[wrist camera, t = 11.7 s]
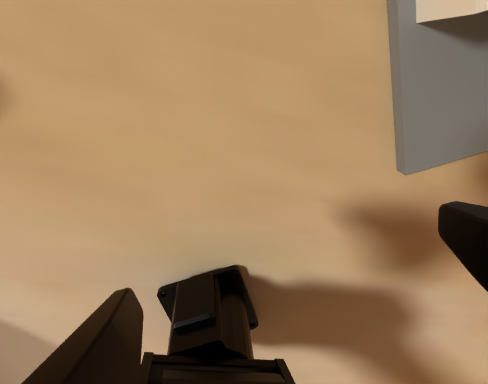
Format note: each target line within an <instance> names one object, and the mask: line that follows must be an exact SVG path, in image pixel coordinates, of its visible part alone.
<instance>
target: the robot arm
mask: <svg viewBox="0 0 488 384" xmlns="http://www.w3.org/2000/svg"><path fill="white" fill-rule="evenodd" d="M438 232H439V235H440V237H441V238H442V240H443V241H444V242H445V243H446V244H447V246H448V247H449V248H450V249H451V250H452V252H453V253H454V254H455V255H456V257H457V258H458V259H459V260H460V261H461V263H462V264H463V265H464V266H465V267H466V269H467V270H468V271H469V272H470V274H471V275H472V276H473V277H474V278H475V279H476V280H477V281H478V282H479V284H480V285H481V286H482V287H483V288H484V289H485V290H486V291H487V292H488V207H485V206H480V205H474V204H469V203H463V202H458V201H454V202H450V203H446V204H443V205H441V206H440V208H439V214H438ZM232 272H236V273H235V274H231V273H232ZM163 293H166V294H163ZM157 297H158V299H159V301H160V302H161V304H162V306H163V308H164V310H165V312H166V314H167V315H168V317H169V319H170V321H171V323H172V324H171V331H170V338H169V345H168V352H167V355H158V354H154V353H153V352H144V356H143V360H142V364H140V363H141V348H142V332H143V310H142V307H141V305H140V303H139V301H138V299H137V298H136V296H135V294H134V292H133V290H132V289H131V288H125V289H121V290H117V291H115V292H114V293H113V294H112V295H111V296H110V297H109V298H108V299H107V300H106V301H105V302H104V303H103V304H102V305H101V306H100V307H99V308H98V309H97V310H96V311H95V312H94V313H92V314H91V315H90V316H89V317H88V318H87V319H86V320H85V321H84V322H83V323H82V324H81V325H80V326H79V327H78V328H77V329H76V330H75V331H74V332H73V333H72V334H71V335H70V336H69V337H68V338H67V339H66V340H65V341H64V342H63V343H62V344H61V345H60V346H59V347H58V348H57V349H56V350H55V351H54V352H53V353H52V354H51V355H50V356H49V357H48V358H47V359H46V360H45V361H44V362H43V363H42V364H41V365H40V366H39V367H38V368H37V369H36V370H35V371H34V372H33V373H32V374H31V375H30V376H29V377H28V378H27V379H25V381H24V382H22V383H21V384H295V382H294V380H293V378H292V376H291V373H290V371H289V369H288V367H287V365H286V363H285V361H284V359H275V360H260V359H254V357H253V350H252V343H251V336H250V330H251V329H254V328H256V327H257V326H258V319H257V316H256V313H255V310H254V308H253V305H252V302H251V299H250V297H249V294H248V291H247V288H246V286H245V283H244V280H243V277H242V274H241V272H240V269H239V268H238V267H237V266H231V267H227V268H224V269H220V270H217V271H214V272H210V273H206V274H203V275H200V276H196V277H193V278H189V279H186V280H183V281H179V282H176V283H173V284H169V285H166V286H163V287H160V288H159V289H158V293H157ZM252 322H253V323H252Z"/></svg>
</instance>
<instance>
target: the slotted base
mask: <svg viewBox="0 0 488 384" xmlns="http://www.w3.org/2000/svg"><path fill="white" fill-rule="evenodd" d="M387 8H388V25H389V42H390V58H391V75H392V92H393V109H394V125H395V142H396V159H397V170H398V171H399V172H401V173H402V174H404V175H409V174H412V173H415V172H419V171H422V170H426V169H429V168H432V167H436V166H439V165H442V164H446V163H449V162H453V161H456V160H459V159H463V158H466V157H469V156H473V155H476V154H479V153H483V152H486V151H488V0H387Z"/></svg>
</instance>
